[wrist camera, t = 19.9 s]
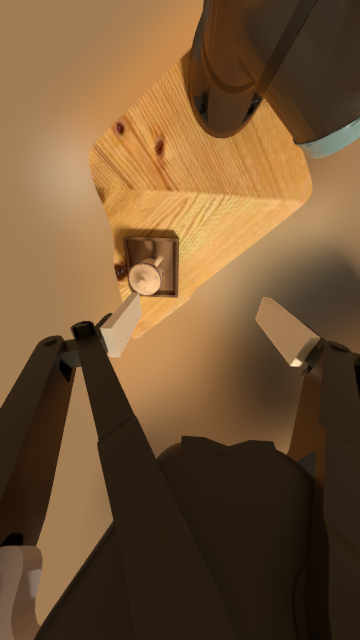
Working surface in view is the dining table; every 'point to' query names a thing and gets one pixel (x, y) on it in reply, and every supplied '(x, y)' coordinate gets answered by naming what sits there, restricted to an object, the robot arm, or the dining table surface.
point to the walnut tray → (152, 248)
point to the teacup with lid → (147, 276)
